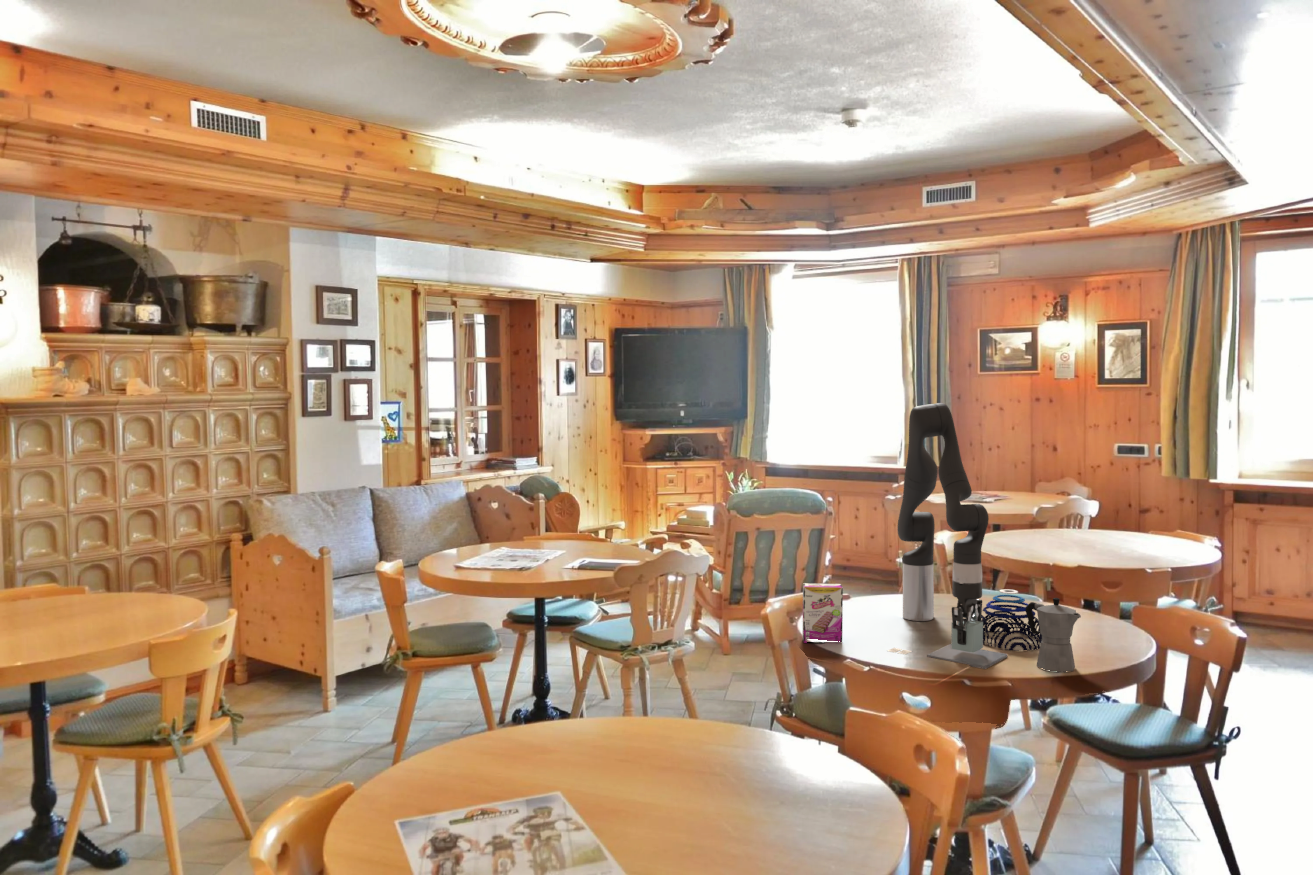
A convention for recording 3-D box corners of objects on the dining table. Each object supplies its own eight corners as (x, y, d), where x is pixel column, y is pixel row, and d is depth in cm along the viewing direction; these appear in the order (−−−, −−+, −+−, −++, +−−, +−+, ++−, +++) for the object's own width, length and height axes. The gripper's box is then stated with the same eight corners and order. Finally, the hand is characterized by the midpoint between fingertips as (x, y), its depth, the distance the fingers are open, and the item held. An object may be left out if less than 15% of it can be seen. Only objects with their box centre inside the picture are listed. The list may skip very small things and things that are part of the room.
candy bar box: (803, 643, 267) (802, 586, 266) (802, 639, 272) (801, 582, 271) (843, 644, 266) (843, 586, 265) (841, 639, 271) (841, 583, 270)
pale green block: (961, 643, 256) (961, 618, 255) (982, 647, 252) (982, 621, 251) (951, 648, 251) (951, 622, 251) (973, 652, 247) (973, 626, 247)
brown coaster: (889, 642, 267) (889, 641, 267) (935, 651, 258) (935, 649, 258) (863, 653, 257) (863, 651, 257) (911, 662, 247) (911, 661, 247)
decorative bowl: (1034, 632, 276) (1035, 583, 275) (1056, 651, 256) (1057, 599, 256) (964, 631, 278) (964, 583, 277) (981, 650, 258) (981, 598, 258)
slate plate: (950, 646, 262) (950, 643, 262) (1007, 656, 251) (1007, 653, 251) (927, 657, 252) (927, 654, 252) (985, 668, 241) (985, 665, 241)
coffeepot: (1090, 670, 239) (1091, 599, 238) (1068, 677, 233) (1069, 605, 232) (1036, 656, 251) (1036, 589, 250) (1014, 662, 246) (1014, 594, 245)
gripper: (965, 573, 258) (965, 633, 259) (941, 581, 248) (941, 644, 249) (992, 576, 253) (992, 638, 254) (969, 585, 243) (968, 649, 243)
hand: (967, 641), depth 251 cm, fingers closed on pale green block, 6 cm apart
